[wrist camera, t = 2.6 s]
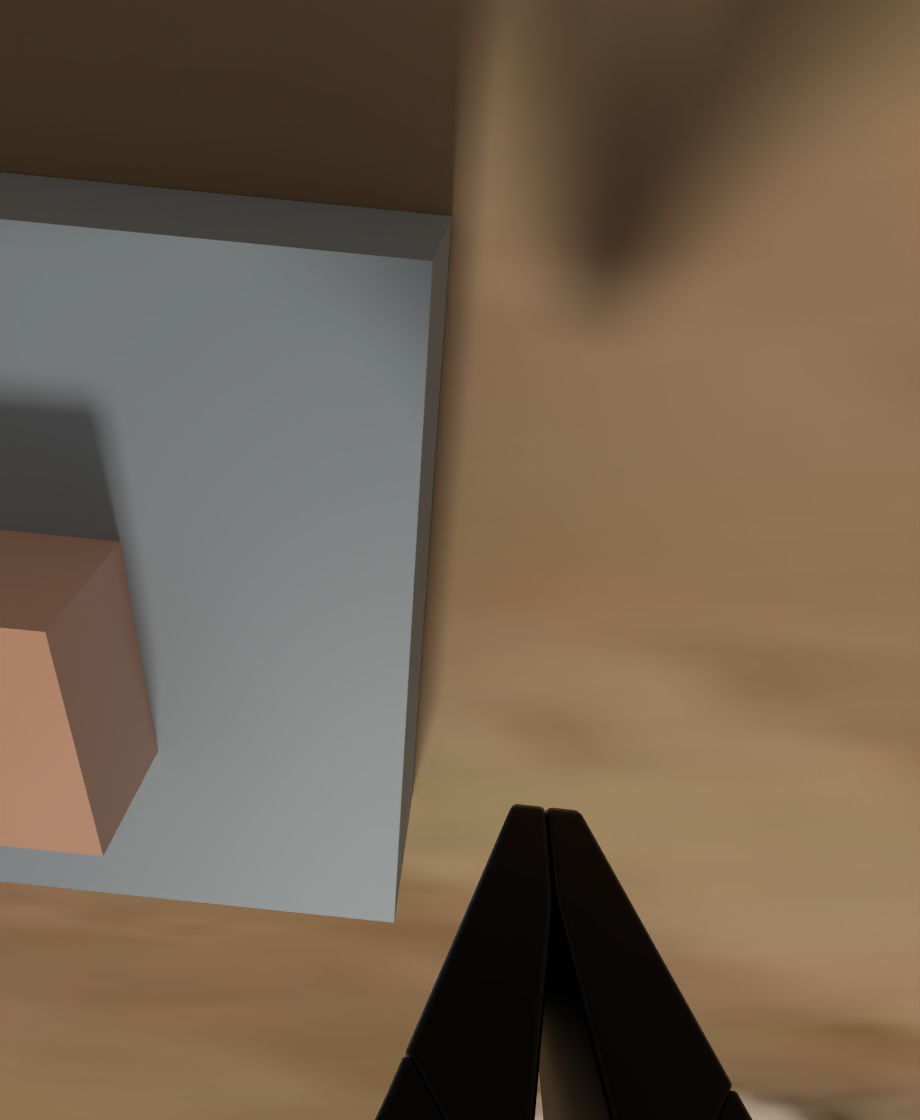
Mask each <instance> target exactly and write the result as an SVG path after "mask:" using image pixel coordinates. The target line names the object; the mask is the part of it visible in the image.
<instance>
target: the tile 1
mask: <svg viewBox="0 0 920 1120" xmlns="http://www.w3.org/2000/svg"><path fill="white" fill-rule="evenodd" d="M157 752H158V749H157V743H156V738H155V732H154V726H153V721H152V715H151V710H150V704H149V698H148V693H147V687H146V682H145V676H144V671H143V665H142V659H141V654H140V648H139V643H138V637H137V632H136V626H135V620H134V615H133V609H132V604H131V598H130V593H129V587H128V581H127V576H126V570H125V565H124V559H123V554H122V548H121V542H118V541H108V540H98V539H88V538H78V537H68V536H58V535H48V534H38V533H28V532H18V531H8V530H0V846H8V847H18V848H27V849H37V850H47V851H56V852H66V853H76V854H85V855H95V856H104V854H105V852H106V850H107V848H108V846H109V844H110V842H111V841H112V839H113V837H114V835H115V833H116V831H117V829H118V827H119V825H120V823H121V821H122V819H123V818H124V816H125V814H126V812H127V810H128V808H129V806H130V804H131V802H132V800H133V798H134V797H135V795H136V793H137V791H138V789H139V787H140V785H141V783H142V781H143V779H144V777H145V775H146V774H147V772H148V770H149V768H150V766H151V764H152V762H153V760H154V758H155V756H156V754H157Z"/></svg>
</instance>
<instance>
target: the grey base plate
mask: <svg viewBox="0 0 920 1120" xmlns="http://www.w3.org/2000/svg"><path fill="white" fill-rule="evenodd" d="M451 225H452V216H447V215H437V214H427V213H416V212H406V211H396V210H385V209H375V208H365V207H354V206H344V205H333V204H323V203H313V202H302V201H292V200H282V199H271V198H261V197H251V196H240V195H230V194H220V193H209V192H199V191H189V190H178V189H168V188H158V187H147V186H137V185H127V184H116V183H106V182H96V181H85V180H75V179H65V178H54V177H44V176H34V175H23V174H13V173H3V172H0V530H8V531H18V532H28V533H38V534H48V535H58V536H68V537H78V538H88V539H98V540H108V541H118V542H121V548H122V554H123V559H124V565H125V570H126V576H127V581H128V587H129V593H130V598H131V604H132V609H133V615H134V620H135V626H136V632H137V637H138V643H139V648H140V654H141V659H142V665H143V671H144V676H145V682H146V687H147V693H148V698H149V704H150V710H151V715H152V721H153V726H154V732H155V738H156V743H157V749H158V752H157V754H156V756H155V758H154V760H153V762H152V764H151V766H150V768H149V770H148V772H147V774H146V775H145V777H144V779H143V781H142V783H141V785H140V787H139V789H138V791H137V793H136V795H135V797H134V798H133V800H132V802H131V804H130V806H129V808H128V810H127V812H126V814H125V816H124V818H123V819H122V821H121V823H120V825H119V827H118V829H117V831H116V833H115V835H114V837H113V839H112V841H111V842H110V844H109V846H108V848H107V850H106V852H105V854H104V856H95V855H85V854H76V853H66V852H56V851H47V850H37V849H27V848H18V847H8V846H0V881H1V882H10V883H20V884H29V885H39V886H49V887H58V888H68V889H77V890H87V891H96V892H106V893H116V894H125V895H135V896H144V897H154V898H164V899H173V900H183V901H192V902H202V903H211V904H221V905H231V906H240V907H250V908H259V909H269V910H279V911H288V912H298V913H307V914H317V915H326V916H336V917H346V918H355V919H365V920H374V921H384V922H394V919H395V912H396V905H397V898H398V891H399V884H400V877H401V870H402V863H403V856H404V849H405V842H406V835H407V828H408V821H409V814H410V807H411V800H412V788H413V774H414V759H415V745H416V730H417V716H418V701H419V687H420V673H421V658H422V644H423V629H424V615H425V600H426V586H427V571H428V557H429V543H430V528H431V514H432V499H433V485H434V470H435V456H436V441H437V427H438V412H439V398H440V384H441V369H442V355H443V340H444V326H445V311H446V297H447V282H448V268H449V254H450V239H451Z"/></svg>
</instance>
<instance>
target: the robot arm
mask: <svg viewBox="0 0 920 1120" xmlns="http://www.w3.org/2000/svg"><path fill="white" fill-rule="evenodd" d="M538 1074H540V1085H541V1097H542V1108H543V1119H544V1120H752V1118H751V1117H750V1115H749V1113H748V1111H747V1109H746V1108H745V1106H744V1104H743V1102H742V1100H741V1099H740V1097H739V1095H738V1093H737V1092H736V1091H730V1090H731V1087H732V1084H731V1081H730V1080H729V1078H728V1076H727V1074H726V1072H725V1071H724V1069H723V1067H722V1065H721V1063H720V1062H719V1060H718V1058H717V1056H716V1054H715V1053H714V1051H713V1049H712V1047H711V1045H710V1044H709V1042H708V1040H707V1038H706V1036H705V1035H704V1033H703V1031H702V1029H701V1028H700V1026H699V1024H698V1022H697V1020H696V1019H695V1017H694V1015H693V1013H692V1011H691V1010H690V1008H689V1006H688V1004H687V1002H686V1001H685V999H684V997H683V995H682V993H681V992H680V990H679V988H678V986H677V984H676V983H675V981H674V979H673V977H672V976H671V974H670V972H669V970H668V968H667V967H666V965H665V963H664V961H663V959H662V958H661V956H660V954H659V952H658V950H657V949H656V947H655V945H654V943H653V941H652V940H651V938H650V936H649V934H648V932H647V931H646V929H645V927H644V925H643V924H642V922H641V920H640V918H639V916H638V915H637V913H636V911H635V909H634V907H633V906H632V904H631V902H630V900H629V898H628V897H627V895H626V893H625V891H624V889H623V888H622V886H621V884H620V882H619V880H618V879H617V877H616V875H615V873H614V872H613V870H612V868H611V866H610V864H609V863H608V861H607V859H606V857H605V855H604V854H603V852H602V850H601V848H600V846H599V845H598V843H597V841H596V839H595V837H594V836H593V834H592V832H591V830H590V828H589V827H588V825H587V823H586V821H585V820H584V818H583V816H582V815H581V814H580V813H579V812H578V811H575V810H569V809H559V808H549V809H547V810H546V812H545V810H544V809H543V808H542V807H539V806H530V805H520V804H515V805H513V806H512V807H511V809H510V811H509V813H508V815H507V818H506V820H505V822H504V825H503V827H502V829H501V832H500V834H499V836H498V839H497V841H496V843H495V846H494V848H493V850H492V853H491V855H490V857H489V859H488V862H487V864H486V866H485V869H484V871H483V873H482V876H481V878H480V880H479V883H478V885H477V887H476V890H475V892H474V894H473V897H472V899H471V901H470V904H469V906H468V908H467V911H466V913H465V915H464V918H463V920H462V922H461V925H460V927H459V929H458V931H457V934H456V936H455V938H454V941H453V943H452V945H451V948H450V950H449V952H448V955H447V957H446V959H445V962H444V964H443V966H442V969H441V971H440V973H439V976H438V978H437V980H436V983H435V985H434V987H433V990H432V992H431V994H430V997H429V999H428V1001H427V1003H426V1006H425V1008H424V1010H423V1013H422V1015H421V1017H420V1020H419V1022H418V1024H417V1027H416V1029H415V1031H414V1034H413V1036H412V1038H411V1041H410V1043H409V1045H408V1048H407V1050H406V1056H405V1057H403V1058H402V1060H401V1063H400V1065H399V1067H398V1070H397V1072H396V1074H395V1077H394V1079H393V1081H392V1084H391V1086H390V1088H389V1091H388V1093H387V1095H386V1097H385V1099H384V1102H383V1104H382V1106H381V1108H380V1110H379V1112H378V1114H377V1116H376V1119H375V1120H535V1108H536V1097H537V1085H538Z"/></svg>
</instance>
